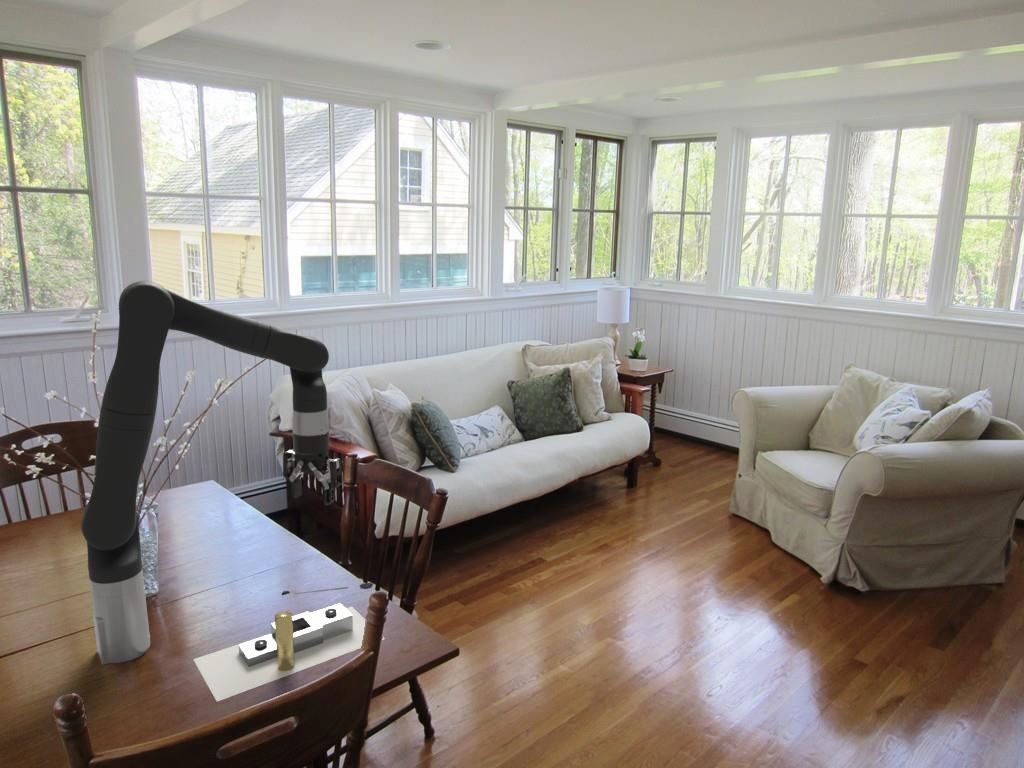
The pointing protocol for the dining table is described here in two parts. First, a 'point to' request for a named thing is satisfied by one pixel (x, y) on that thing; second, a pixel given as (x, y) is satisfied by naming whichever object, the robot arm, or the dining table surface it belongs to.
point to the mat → (271, 662)
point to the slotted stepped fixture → (300, 633)
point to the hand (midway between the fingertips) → (313, 500)
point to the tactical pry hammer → (364, 585)
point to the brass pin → (284, 640)
